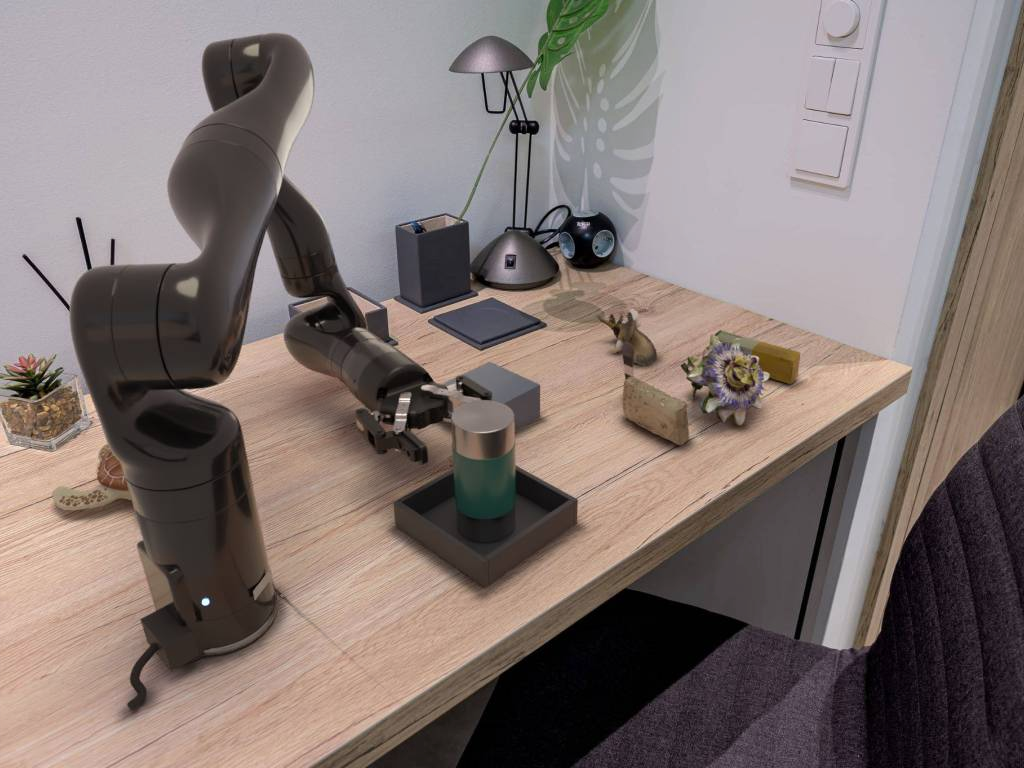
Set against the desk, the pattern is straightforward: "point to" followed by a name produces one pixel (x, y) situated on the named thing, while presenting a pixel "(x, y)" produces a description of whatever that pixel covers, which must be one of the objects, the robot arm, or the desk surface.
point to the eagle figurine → (632, 337)
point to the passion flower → (727, 380)
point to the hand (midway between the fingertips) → (461, 442)
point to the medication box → (767, 356)
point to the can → (484, 470)
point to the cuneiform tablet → (654, 408)
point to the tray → (537, 524)
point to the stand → (507, 391)
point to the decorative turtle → (106, 493)
